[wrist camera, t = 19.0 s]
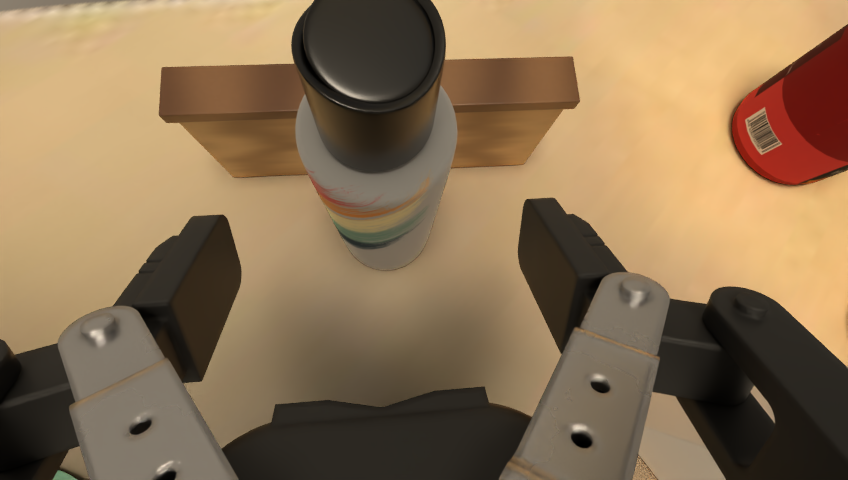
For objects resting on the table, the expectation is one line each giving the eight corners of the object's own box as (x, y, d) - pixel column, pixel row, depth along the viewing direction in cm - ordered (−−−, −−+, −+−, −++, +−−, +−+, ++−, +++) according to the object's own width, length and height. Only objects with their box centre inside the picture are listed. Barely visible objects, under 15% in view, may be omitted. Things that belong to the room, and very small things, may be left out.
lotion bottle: (393, 173, 31) (388, -108, 11) (445, 236, 30) (536, 51, 11) (326, 222, 30) (195, 6, 10) (378, 289, 29) (343, 189, 10)
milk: (732, 430, 29) (1756, 712, 7) (666, 494, 28) (1640, 1054, 6) (669, 352, 29) (1419, 395, 8) (602, 411, 28) (1263, 646, 7)
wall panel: (228, 182, 30) (158, 115, 21) (229, 146, 31) (160, 66, 22) (528, 168, 32) (580, 101, 23) (523, 134, 32) (573, 55, 23)
